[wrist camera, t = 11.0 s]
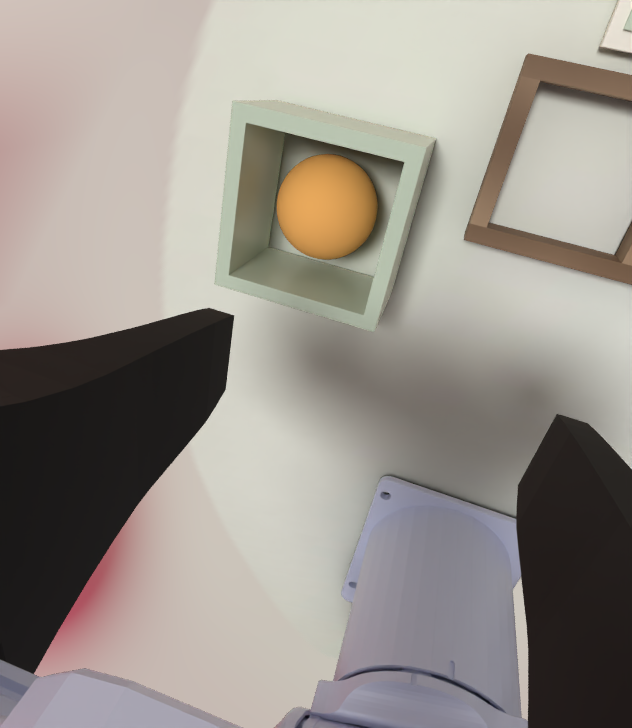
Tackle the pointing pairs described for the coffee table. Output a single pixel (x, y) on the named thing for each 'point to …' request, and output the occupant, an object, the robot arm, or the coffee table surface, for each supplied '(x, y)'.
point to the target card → (619, 28)
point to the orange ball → (327, 206)
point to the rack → (628, 260)
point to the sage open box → (257, 199)
